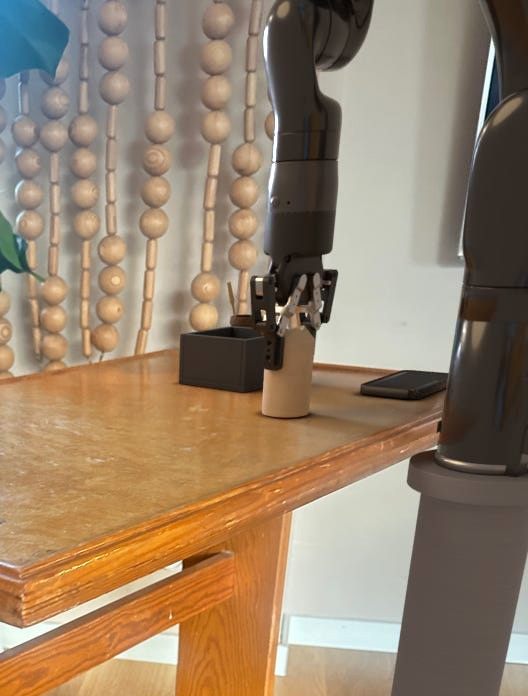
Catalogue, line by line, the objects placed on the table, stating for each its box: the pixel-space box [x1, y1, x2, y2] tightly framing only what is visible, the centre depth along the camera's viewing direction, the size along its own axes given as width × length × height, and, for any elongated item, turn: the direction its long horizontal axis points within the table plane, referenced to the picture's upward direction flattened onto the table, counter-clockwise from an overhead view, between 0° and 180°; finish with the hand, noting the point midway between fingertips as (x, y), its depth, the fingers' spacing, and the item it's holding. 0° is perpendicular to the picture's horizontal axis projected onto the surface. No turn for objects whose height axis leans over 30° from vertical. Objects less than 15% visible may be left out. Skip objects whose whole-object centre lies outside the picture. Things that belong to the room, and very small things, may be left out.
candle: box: [261, 325, 316, 418], centre depth 108 cm, size 6×6×10 cm
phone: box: [359, 369, 449, 400], centre depth 122 cm, size 8×1×15 cm
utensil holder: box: [226, 281, 264, 328], centre depth 146 cm, size 6×6×12 cm
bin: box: [178, 325, 264, 394], centre depth 130 cm, size 12×12×7 cm
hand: (288, 365), depth 108 cm, fingers closed on candle, 5 cm apart
